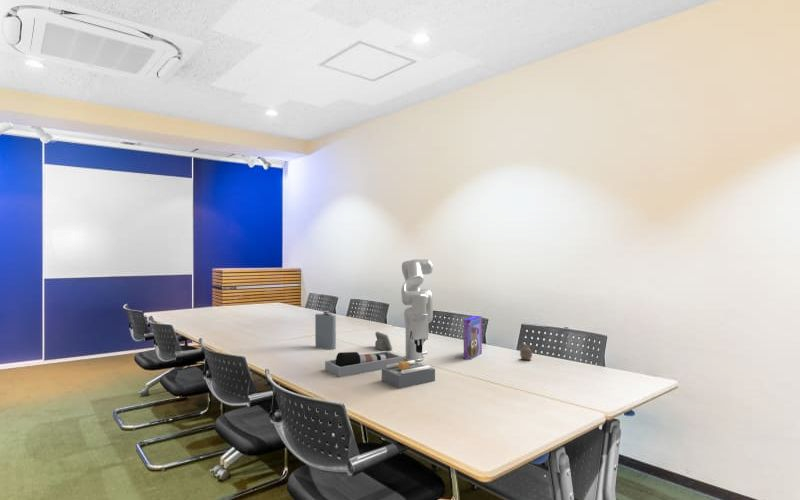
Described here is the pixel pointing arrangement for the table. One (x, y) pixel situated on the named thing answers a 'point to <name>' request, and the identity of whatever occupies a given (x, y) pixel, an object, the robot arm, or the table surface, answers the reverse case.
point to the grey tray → (362, 365)
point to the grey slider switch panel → (407, 376)
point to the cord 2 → (415, 369)
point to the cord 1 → (398, 364)
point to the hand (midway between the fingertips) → (419, 352)
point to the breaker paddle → (404, 365)
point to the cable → (356, 358)
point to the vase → (526, 353)
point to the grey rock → (382, 342)
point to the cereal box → (472, 337)
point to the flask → (325, 330)
